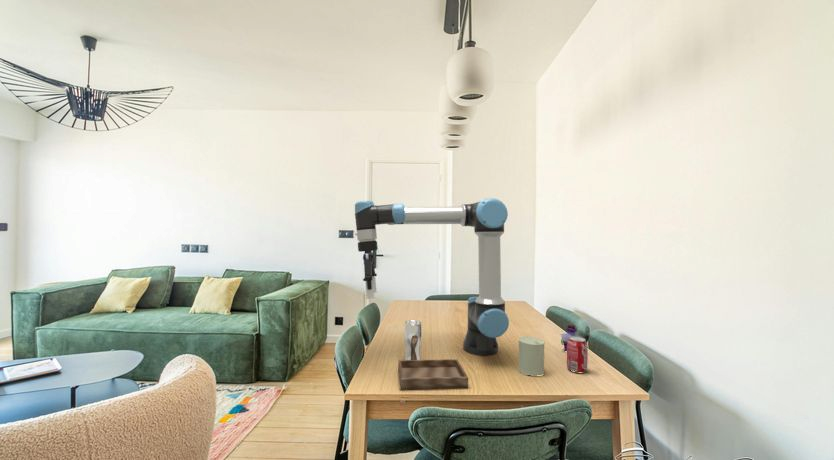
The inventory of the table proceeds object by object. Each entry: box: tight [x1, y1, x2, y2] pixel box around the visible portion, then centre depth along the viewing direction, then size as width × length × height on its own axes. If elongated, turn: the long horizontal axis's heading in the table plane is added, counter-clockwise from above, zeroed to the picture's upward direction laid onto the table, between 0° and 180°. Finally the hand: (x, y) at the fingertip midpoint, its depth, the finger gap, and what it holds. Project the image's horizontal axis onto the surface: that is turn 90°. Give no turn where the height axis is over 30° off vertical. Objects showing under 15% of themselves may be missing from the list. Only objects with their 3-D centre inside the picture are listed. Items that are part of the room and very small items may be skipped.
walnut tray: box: [397, 358, 469, 391], centre depth 116 cm, size 22×16×4 cm
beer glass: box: [403, 319, 423, 360], centre depth 132 cm, size 7×7×15 cm
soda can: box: [566, 336, 589, 373], centre depth 125 cm, size 7×7×12 cm
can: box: [517, 336, 545, 377], centre depth 124 cm, size 9×9×12 cm
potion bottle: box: [560, 323, 582, 352], centre depth 145 cm, size 9×9×12 cm
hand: (372, 295), depth 129 cm, fingers open, 13 cm apart
